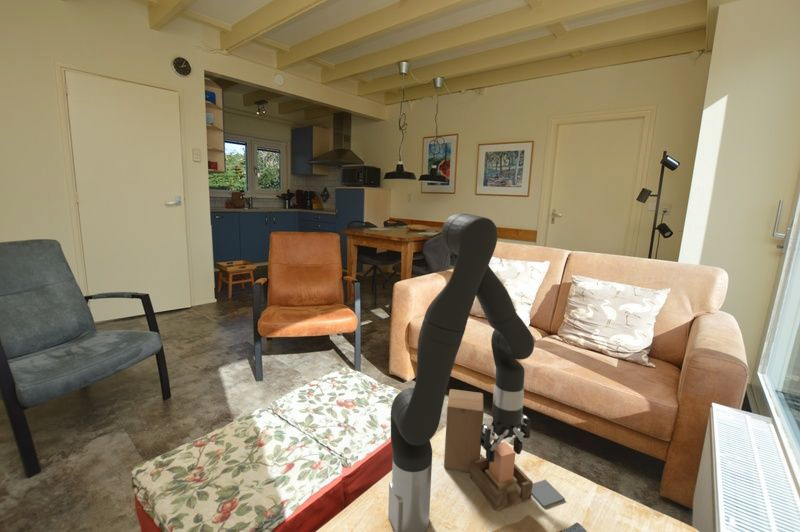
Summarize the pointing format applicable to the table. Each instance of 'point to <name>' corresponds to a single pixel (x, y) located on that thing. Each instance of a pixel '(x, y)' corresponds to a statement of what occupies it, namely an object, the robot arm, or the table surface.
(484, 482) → the crate
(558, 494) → the pad
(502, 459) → the block
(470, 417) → the wooden block
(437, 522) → the table surface
